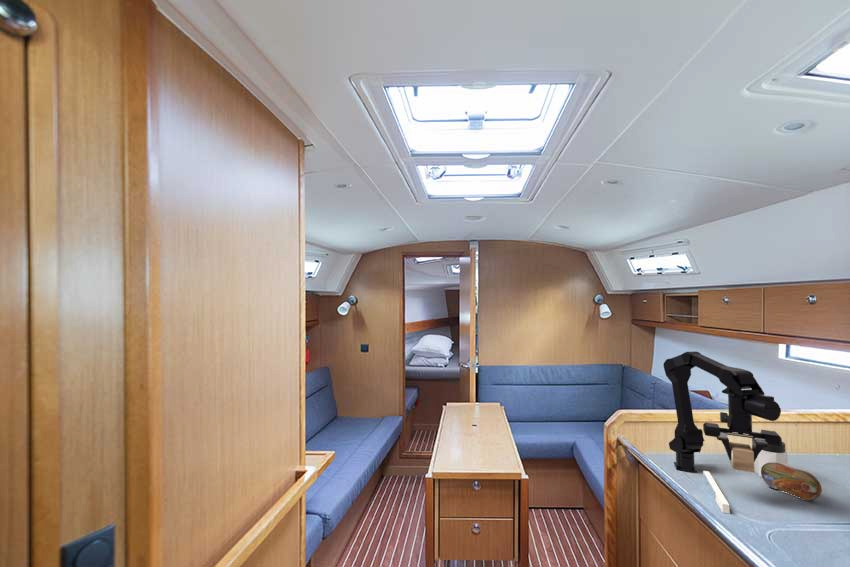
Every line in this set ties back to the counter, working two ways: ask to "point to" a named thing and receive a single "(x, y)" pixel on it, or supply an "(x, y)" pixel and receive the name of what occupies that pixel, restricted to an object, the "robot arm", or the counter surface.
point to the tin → (791, 481)
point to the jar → (771, 457)
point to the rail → (716, 492)
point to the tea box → (742, 457)
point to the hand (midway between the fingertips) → (741, 461)
